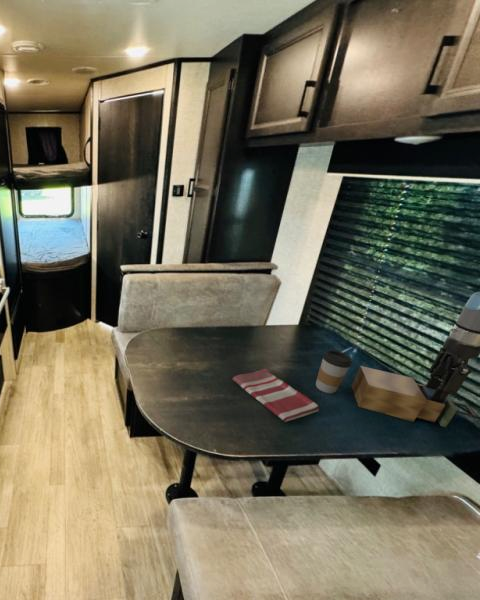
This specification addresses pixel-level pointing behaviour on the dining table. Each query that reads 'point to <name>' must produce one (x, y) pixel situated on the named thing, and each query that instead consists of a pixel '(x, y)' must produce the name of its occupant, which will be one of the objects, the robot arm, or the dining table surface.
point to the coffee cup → (332, 371)
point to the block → (429, 393)
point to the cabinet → (388, 393)
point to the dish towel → (276, 395)
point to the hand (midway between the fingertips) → (430, 399)
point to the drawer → (442, 410)
